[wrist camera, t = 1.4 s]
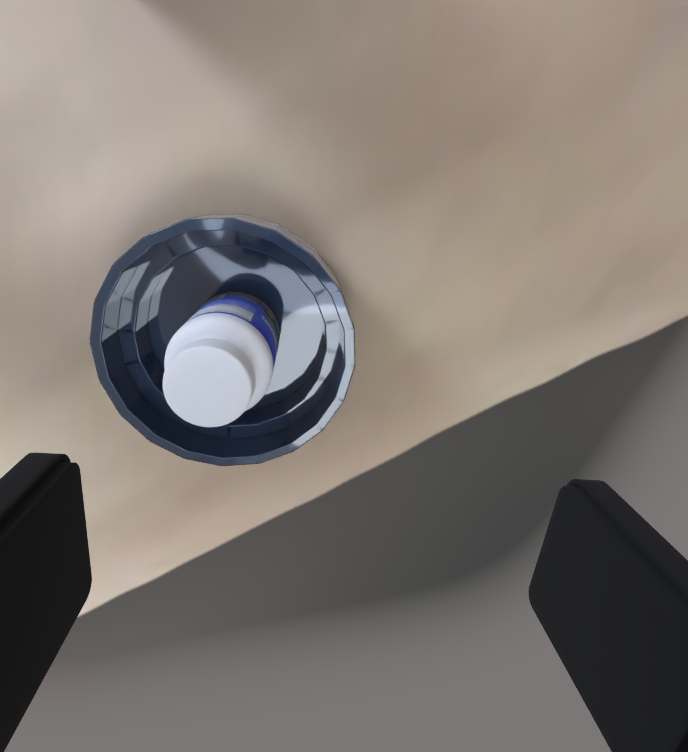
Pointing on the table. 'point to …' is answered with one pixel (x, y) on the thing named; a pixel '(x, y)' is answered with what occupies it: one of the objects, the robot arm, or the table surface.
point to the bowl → (187, 295)
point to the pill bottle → (221, 360)
